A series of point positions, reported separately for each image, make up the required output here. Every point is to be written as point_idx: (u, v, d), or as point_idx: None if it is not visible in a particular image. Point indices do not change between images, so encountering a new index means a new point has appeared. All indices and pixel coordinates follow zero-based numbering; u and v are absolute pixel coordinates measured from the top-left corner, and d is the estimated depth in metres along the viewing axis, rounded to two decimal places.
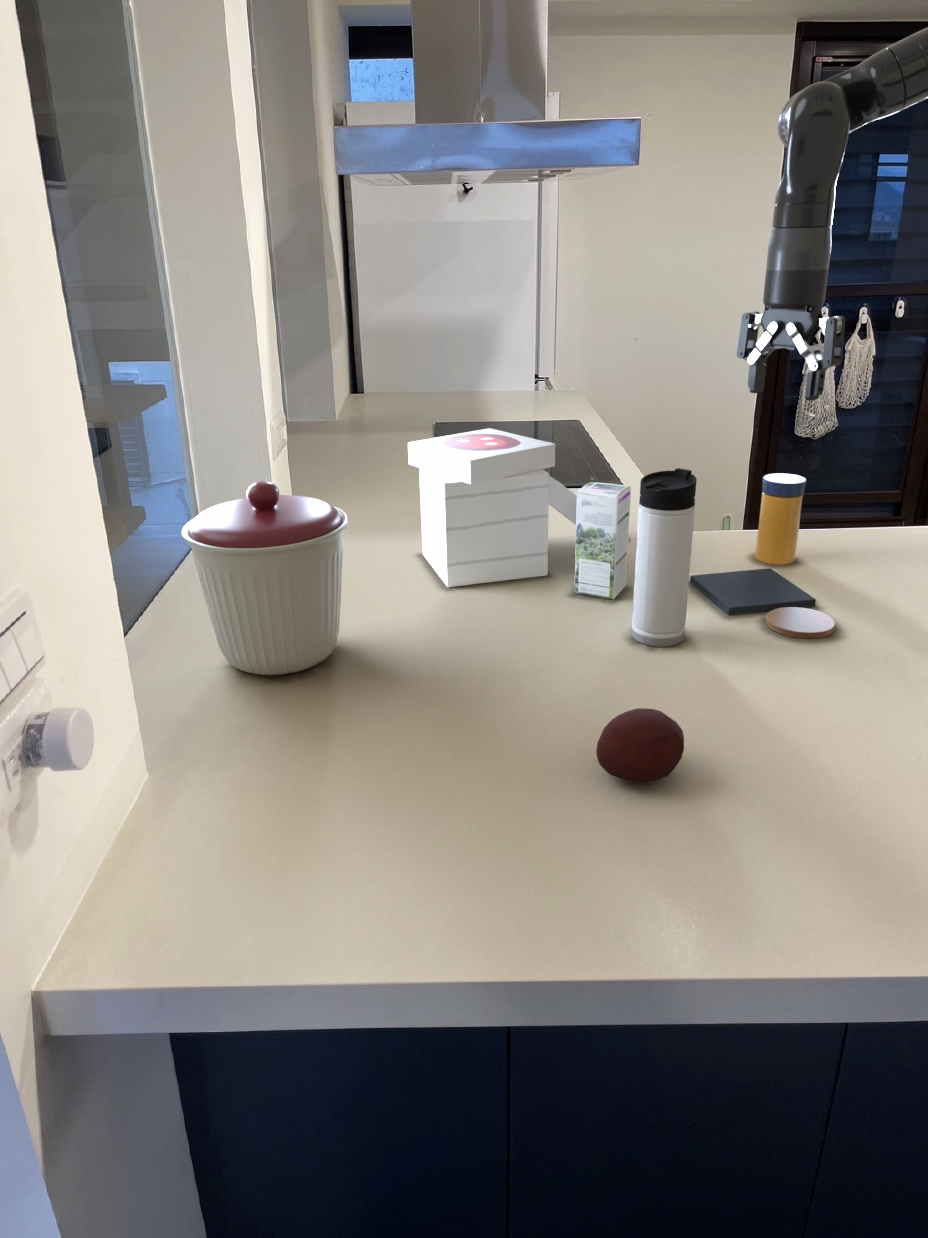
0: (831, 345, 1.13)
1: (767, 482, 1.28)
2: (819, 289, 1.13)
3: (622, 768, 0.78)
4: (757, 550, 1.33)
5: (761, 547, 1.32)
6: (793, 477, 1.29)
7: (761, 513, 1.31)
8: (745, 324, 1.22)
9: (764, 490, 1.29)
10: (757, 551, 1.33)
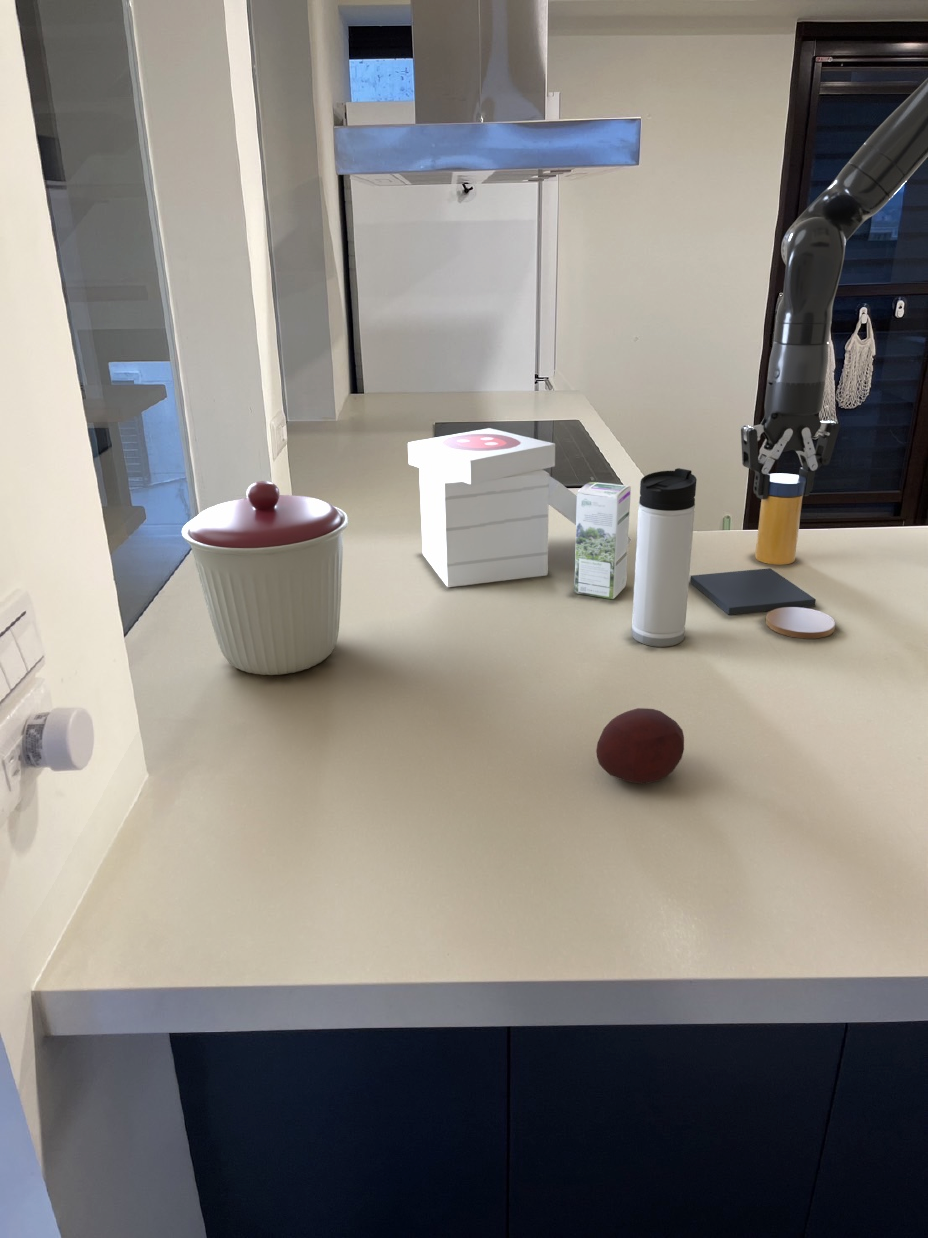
0: (832, 447, 1.27)
1: None
2: None
3: (622, 768, 0.78)
4: (757, 550, 1.33)
5: (761, 547, 1.32)
6: (793, 477, 1.29)
7: (761, 513, 1.31)
8: (754, 439, 1.25)
9: None
10: (757, 551, 1.33)
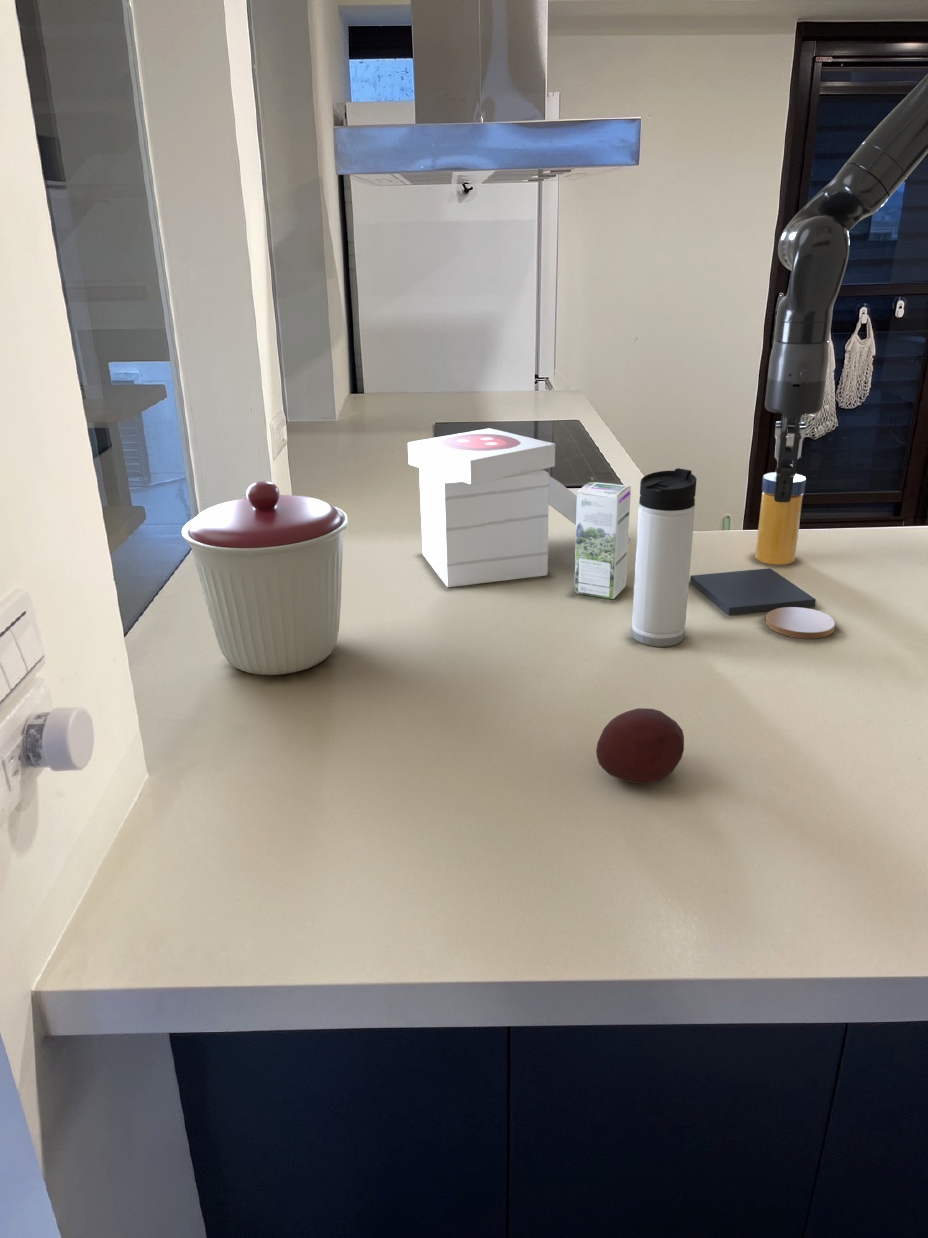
0: None
1: None
2: None
3: (622, 768, 0.78)
4: (757, 550, 1.33)
5: (761, 547, 1.32)
6: None
7: (761, 513, 1.31)
8: None
9: None
10: (757, 551, 1.33)
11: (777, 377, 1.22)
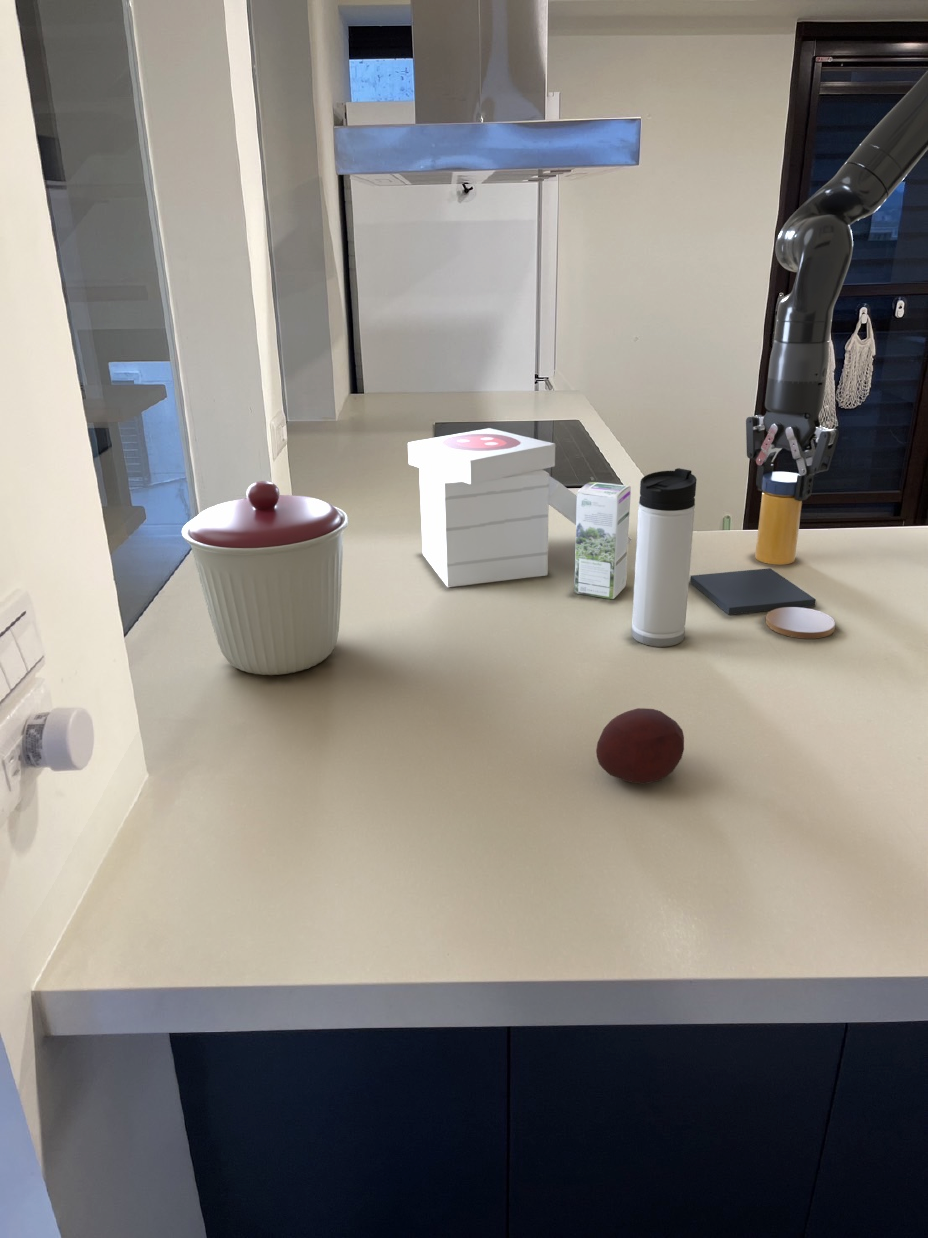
0: None
1: None
2: None
3: (622, 768, 0.78)
4: (757, 550, 1.33)
5: (761, 547, 1.32)
6: (775, 474, 1.30)
7: (761, 513, 1.31)
8: None
9: None
10: (757, 551, 1.33)
11: (802, 378, 1.20)
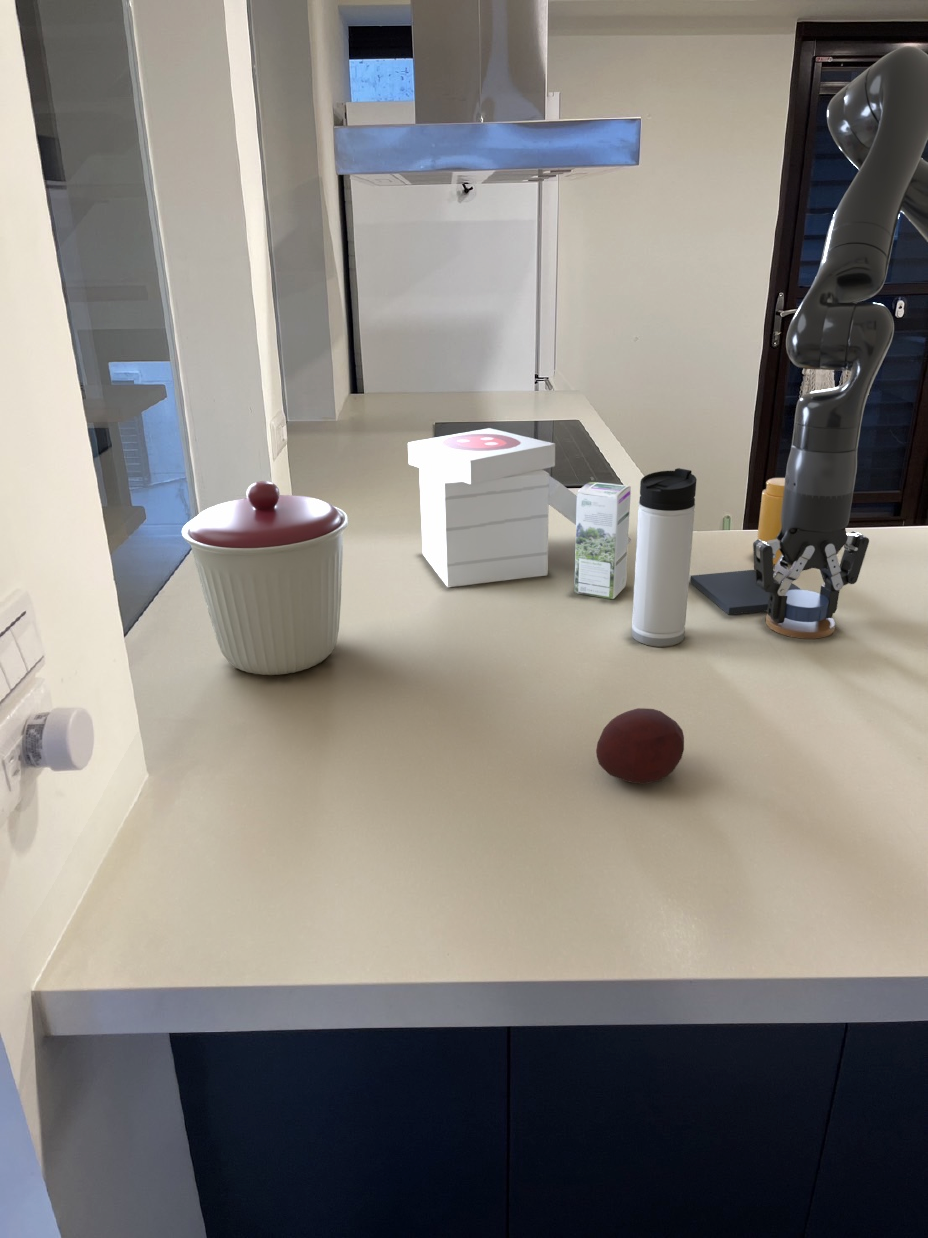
0: None
1: None
2: (785, 508, 1.05)
3: (622, 768, 0.78)
4: None
5: None
6: (792, 599, 1.10)
7: (761, 513, 1.31)
8: None
9: None
10: None
11: (853, 487, 1.03)
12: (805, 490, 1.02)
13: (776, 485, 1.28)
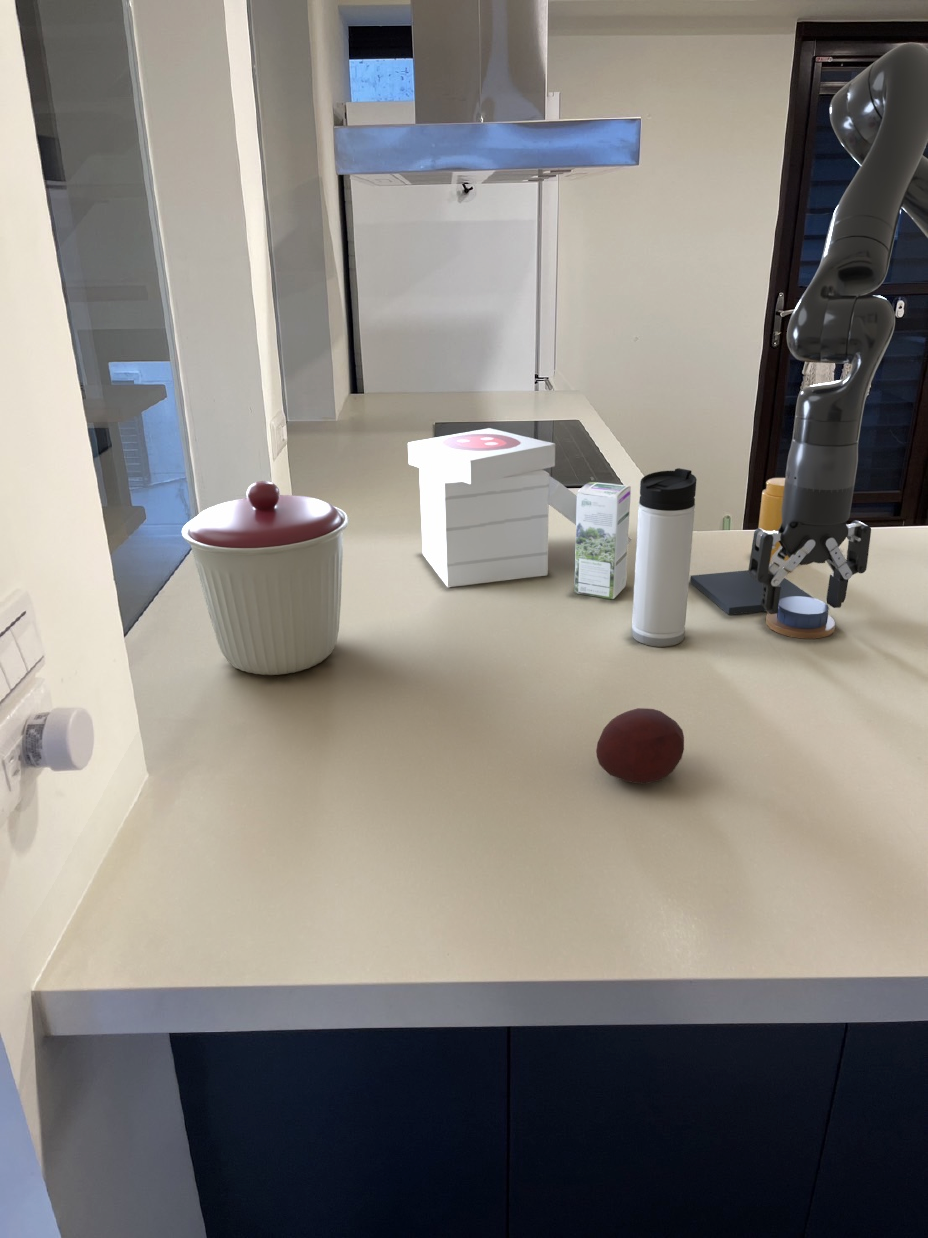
0: None
1: None
2: (785, 502, 1.05)
3: (622, 768, 0.78)
4: None
5: None
6: (792, 606, 1.10)
7: (761, 513, 1.31)
8: None
9: None
10: None
11: (854, 481, 1.03)
12: (806, 484, 1.02)
13: (776, 485, 1.28)
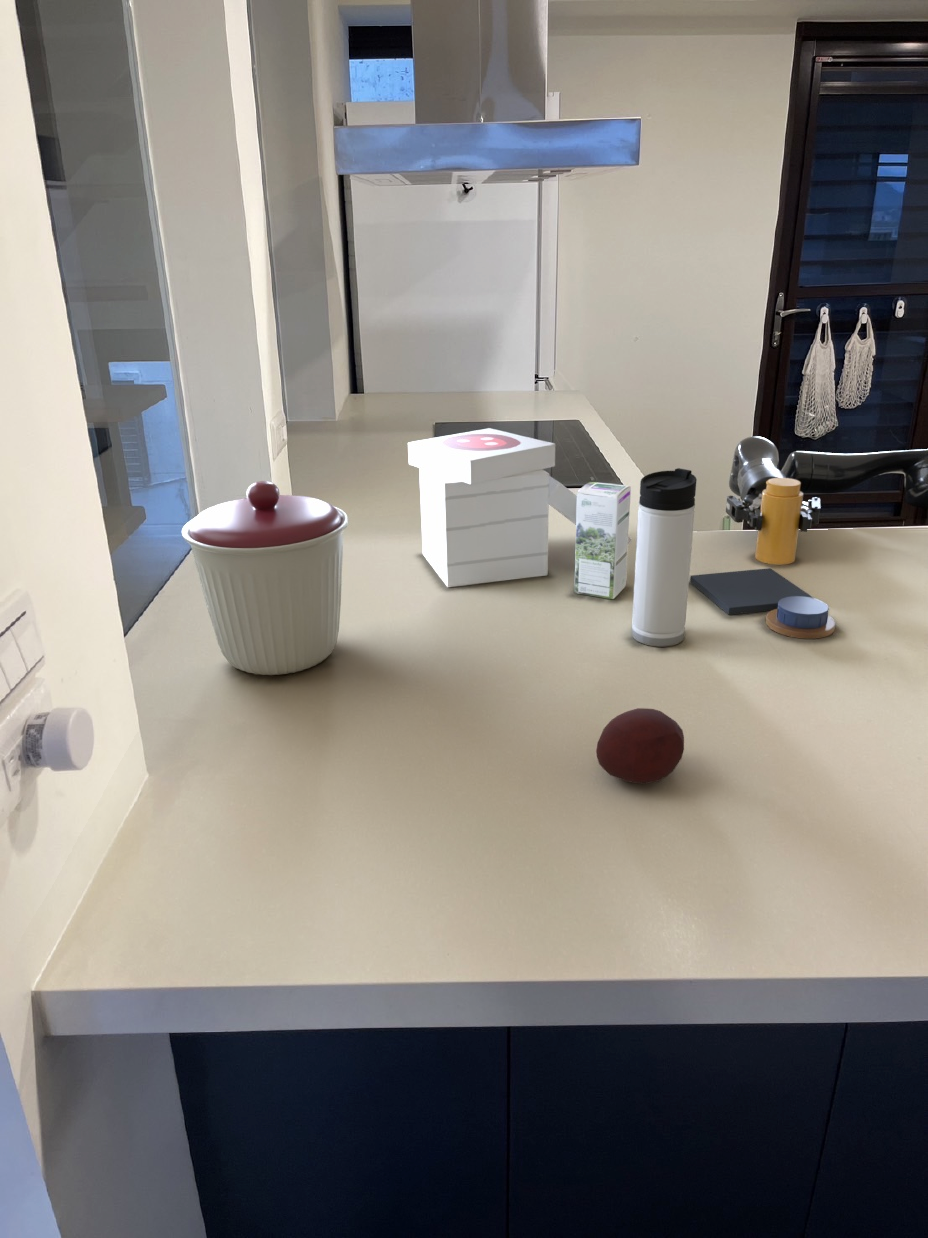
0: None
1: None
2: (743, 498, 1.43)
3: (622, 768, 0.78)
4: (757, 550, 1.33)
5: (761, 547, 1.32)
6: (792, 606, 1.10)
7: (761, 513, 1.31)
8: None
9: None
10: (757, 551, 1.33)
11: (785, 477, 1.43)
12: (747, 478, 1.44)
13: (776, 485, 1.28)
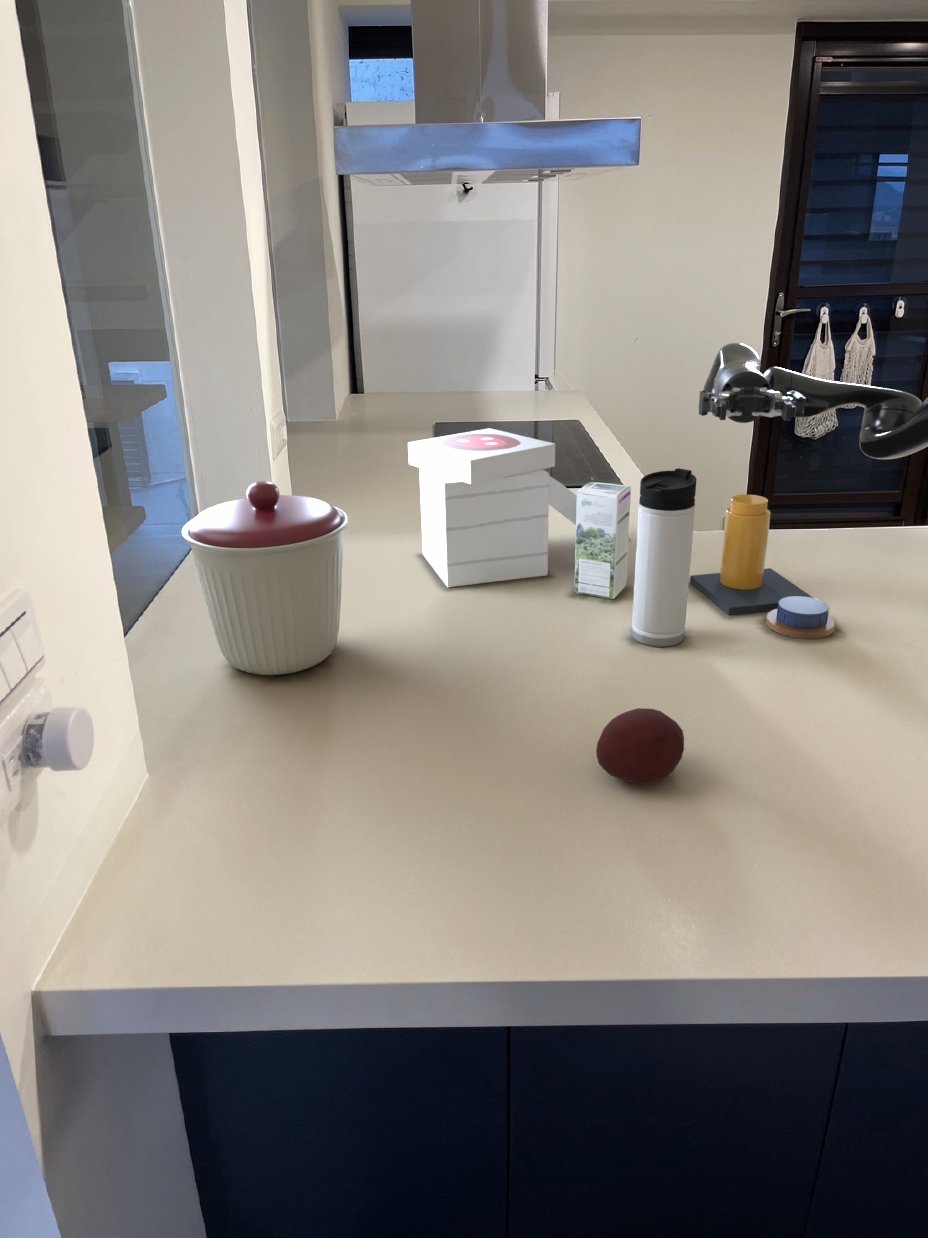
0: None
1: None
2: None
3: (622, 768, 0.78)
4: (722, 573, 1.22)
5: (726, 571, 1.21)
6: (792, 606, 1.10)
7: (725, 533, 1.20)
8: None
9: None
10: (722, 574, 1.22)
11: None
12: (723, 377, 1.37)
13: (741, 503, 1.17)
